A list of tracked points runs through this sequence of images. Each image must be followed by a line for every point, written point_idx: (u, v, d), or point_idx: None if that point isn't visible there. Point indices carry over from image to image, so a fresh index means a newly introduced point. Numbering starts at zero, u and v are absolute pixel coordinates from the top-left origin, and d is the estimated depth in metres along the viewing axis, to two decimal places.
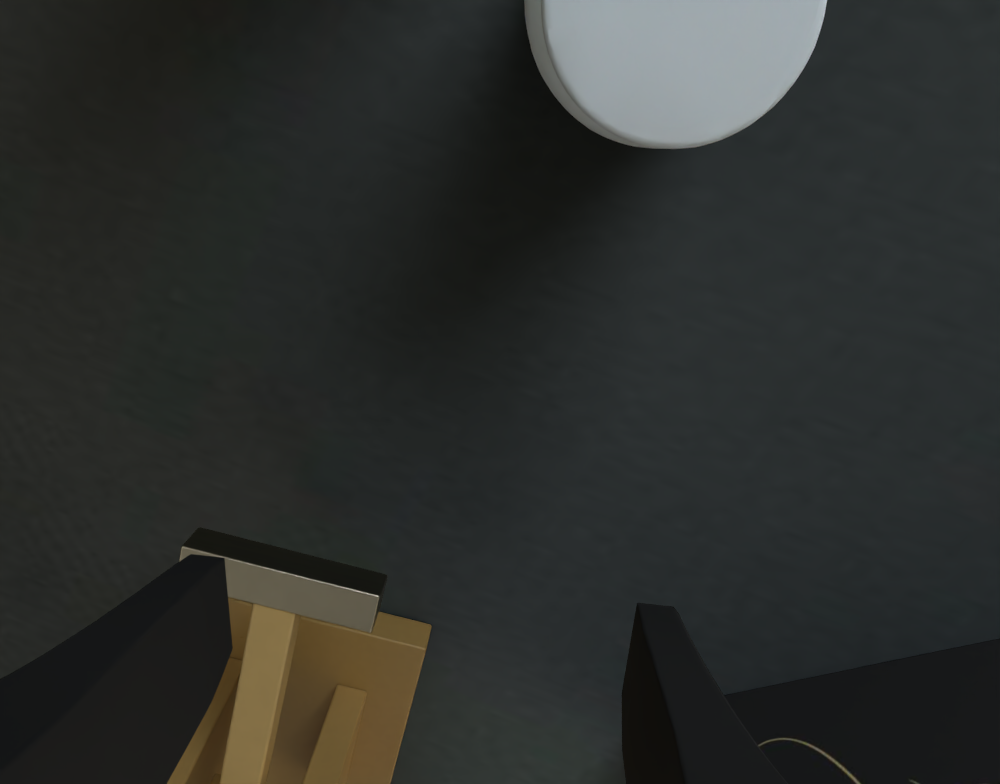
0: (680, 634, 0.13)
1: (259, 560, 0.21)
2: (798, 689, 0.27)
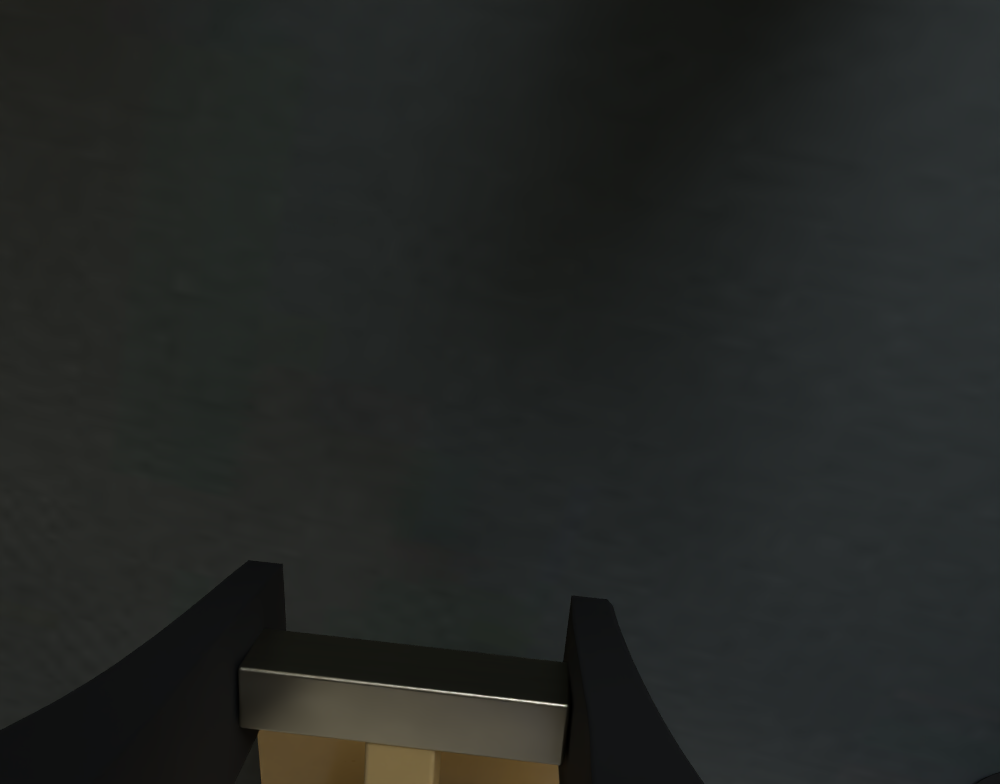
0: (609, 626, 0.13)
1: (364, 672, 0.13)
2: None
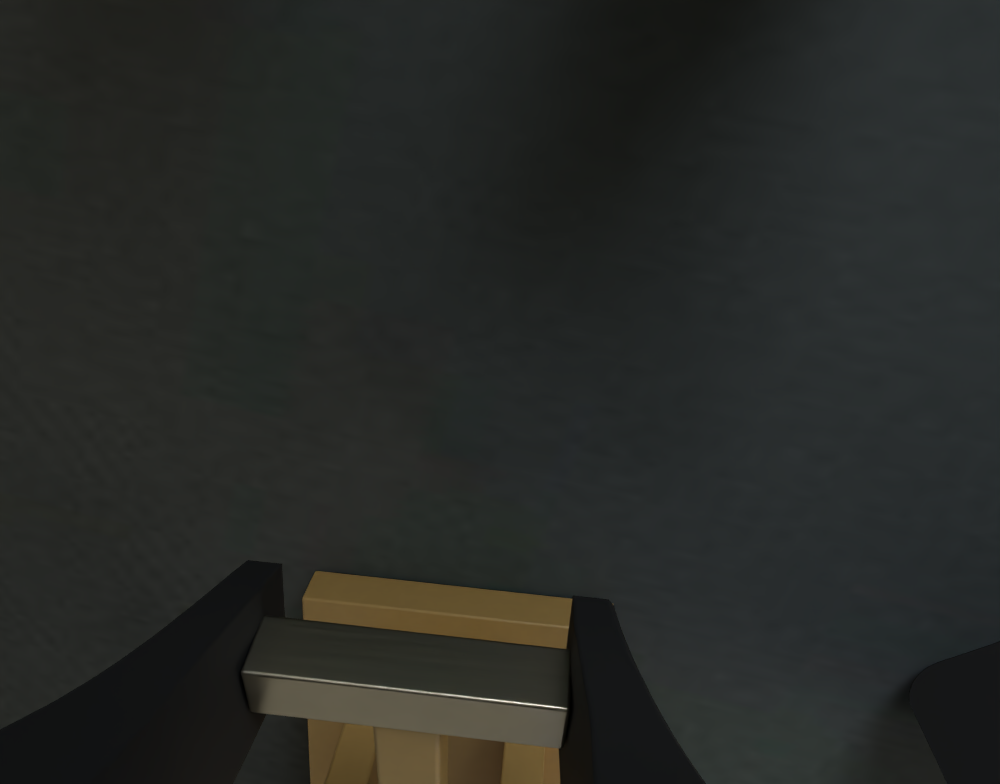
0: (610, 626, 0.13)
1: (366, 672, 0.13)
2: None
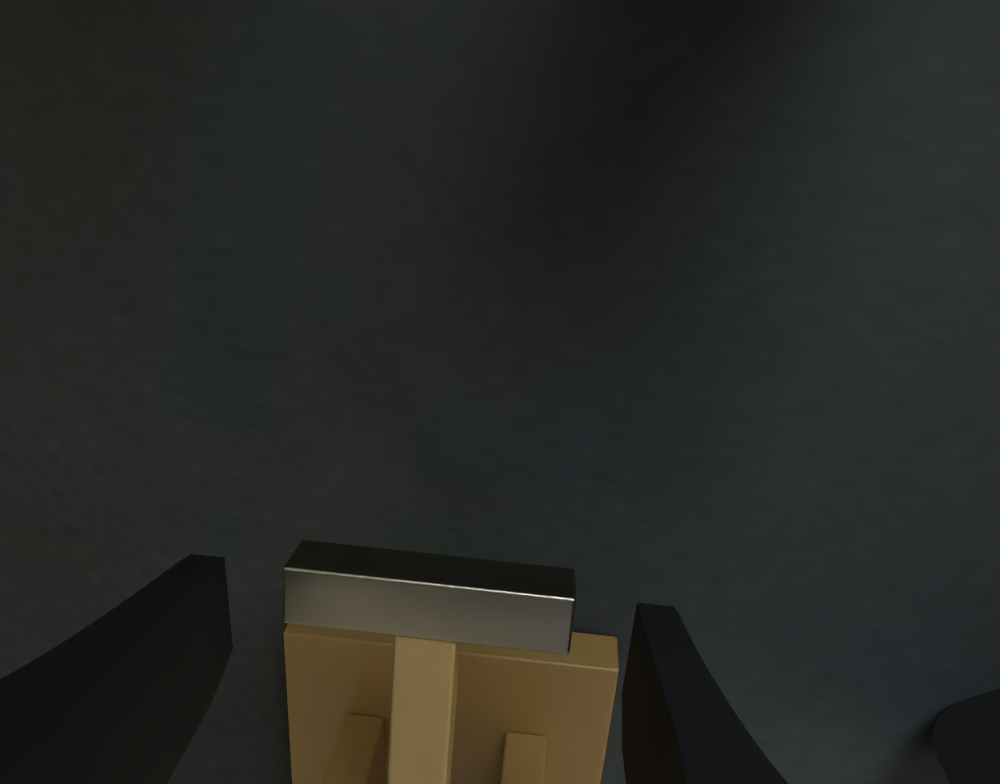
0: (681, 634, 0.13)
1: (394, 572, 0.14)
2: None
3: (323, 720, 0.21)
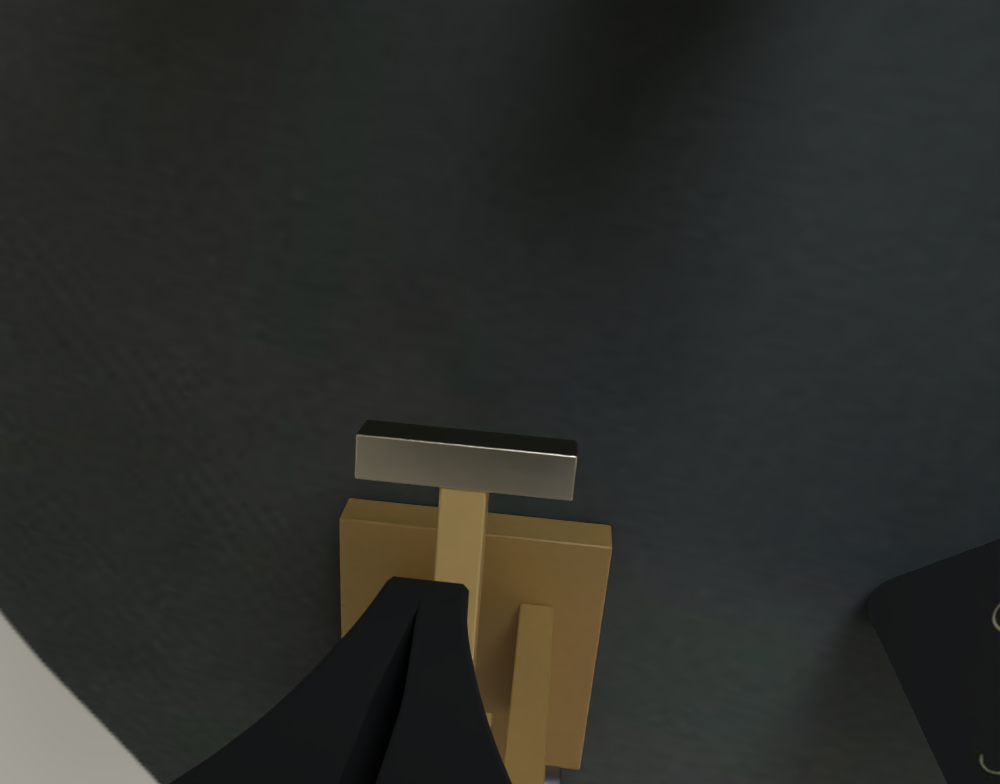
0: (454, 609, 0.13)
1: (440, 438, 0.19)
2: None
3: (369, 596, 0.26)
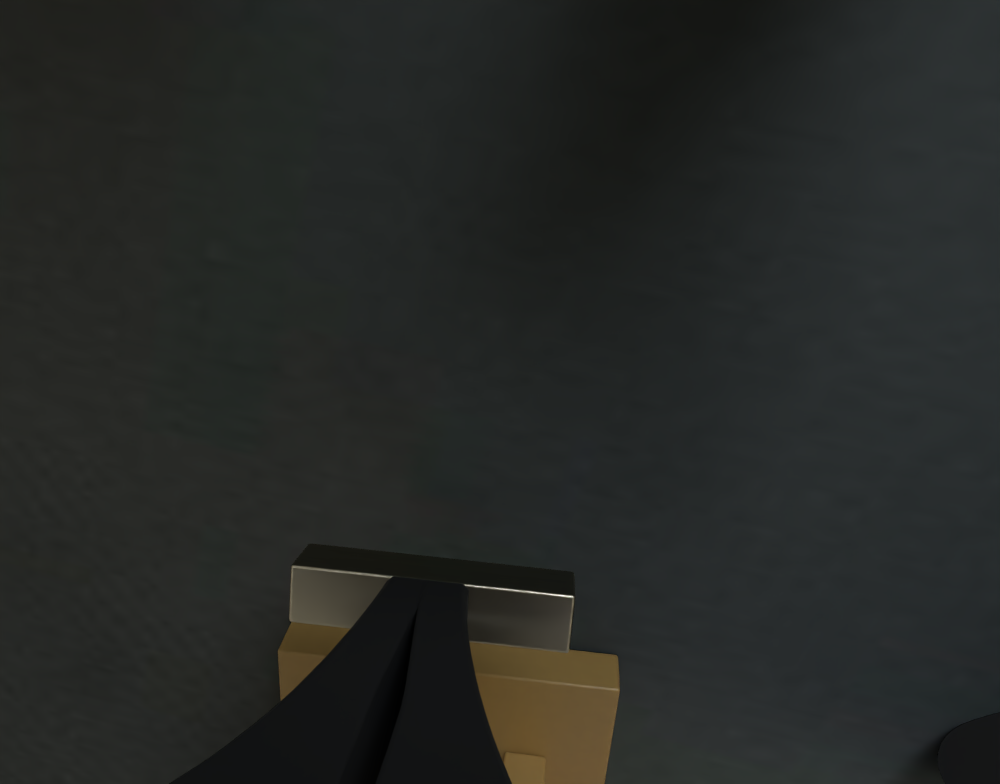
0: (455, 609, 0.13)
1: (399, 571, 0.15)
2: None
3: None
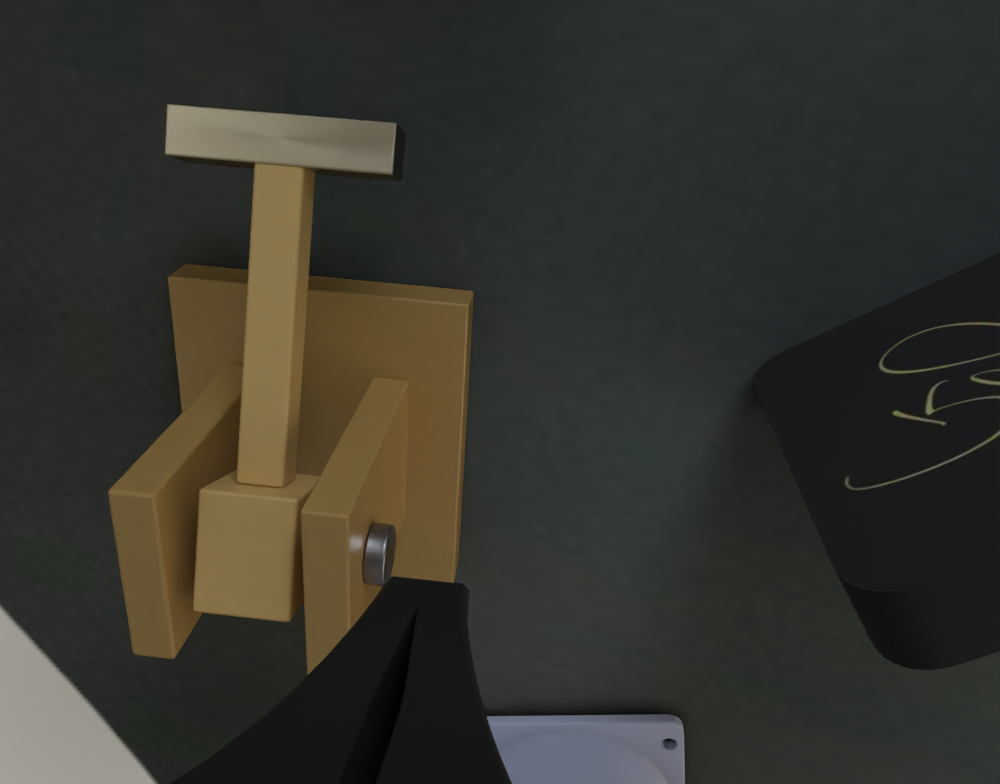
0: (455, 608, 0.13)
1: None
2: (934, 289, 0.21)
3: (209, 373, 0.23)
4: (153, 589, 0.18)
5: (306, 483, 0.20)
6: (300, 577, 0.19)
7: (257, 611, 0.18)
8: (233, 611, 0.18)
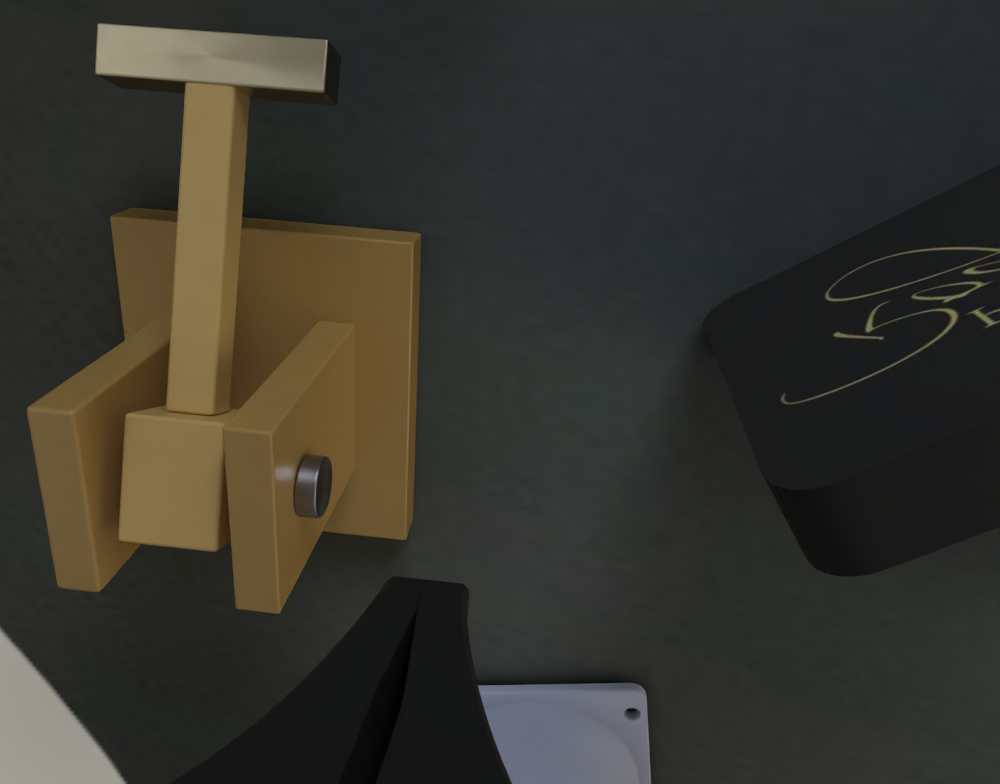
0: (455, 609, 0.13)
1: None
2: (884, 226, 0.21)
3: (153, 317, 0.23)
4: (75, 514, 0.18)
5: None
6: None
7: (183, 540, 0.18)
8: (158, 540, 0.18)
